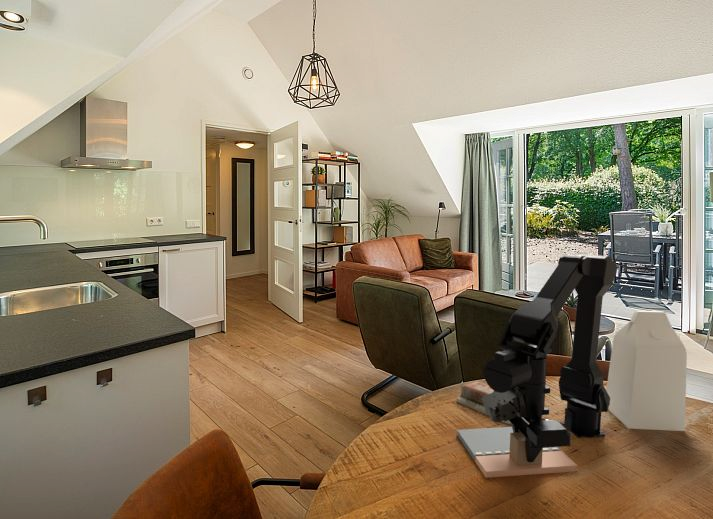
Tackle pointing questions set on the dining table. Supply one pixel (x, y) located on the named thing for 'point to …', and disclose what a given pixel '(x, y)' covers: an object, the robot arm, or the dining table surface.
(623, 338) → the milk
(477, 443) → the board
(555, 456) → the stub
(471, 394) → the packaged product
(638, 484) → the dining table surface
